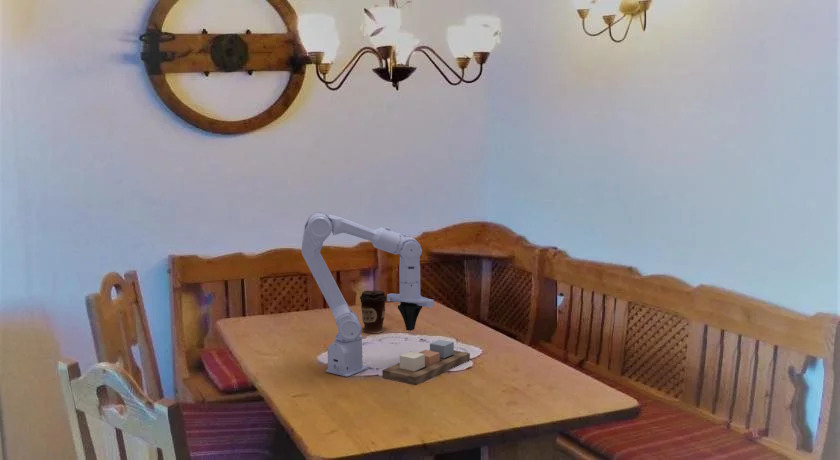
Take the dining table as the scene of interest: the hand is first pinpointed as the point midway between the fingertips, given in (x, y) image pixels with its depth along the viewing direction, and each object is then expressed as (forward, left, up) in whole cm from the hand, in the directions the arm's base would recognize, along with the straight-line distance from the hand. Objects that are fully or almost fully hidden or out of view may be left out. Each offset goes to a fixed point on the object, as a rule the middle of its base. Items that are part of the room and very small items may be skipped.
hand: (410, 329), depth 221 cm
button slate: (+8, -5, -8) cm, 13 cm away
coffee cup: (+23, +32, -11) cm, 41 cm away
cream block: (-6, -5, -8) cm, 11 cm away
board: (+1, -5, -10) cm, 12 cm away
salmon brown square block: (+1, -5, -10) cm, 11 cm away
